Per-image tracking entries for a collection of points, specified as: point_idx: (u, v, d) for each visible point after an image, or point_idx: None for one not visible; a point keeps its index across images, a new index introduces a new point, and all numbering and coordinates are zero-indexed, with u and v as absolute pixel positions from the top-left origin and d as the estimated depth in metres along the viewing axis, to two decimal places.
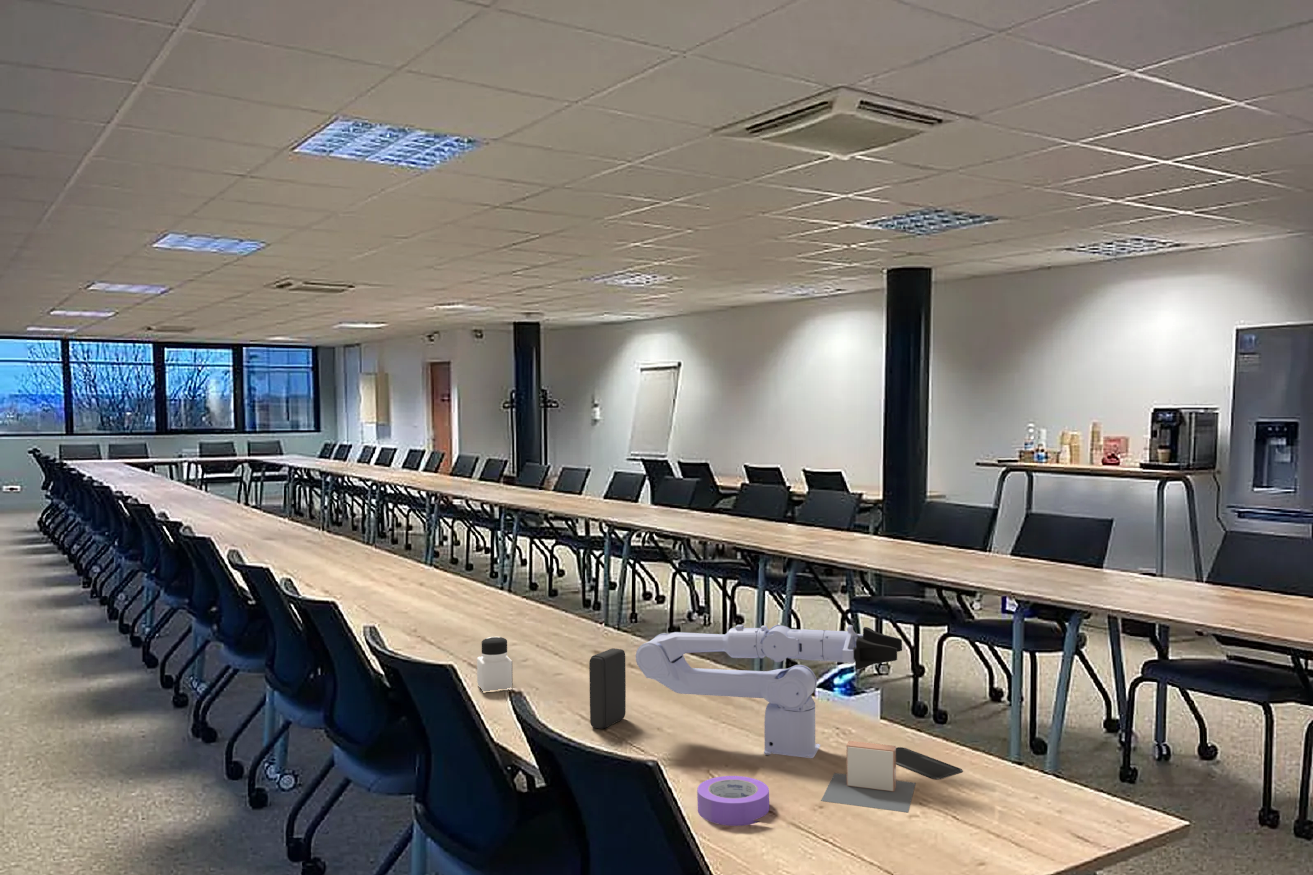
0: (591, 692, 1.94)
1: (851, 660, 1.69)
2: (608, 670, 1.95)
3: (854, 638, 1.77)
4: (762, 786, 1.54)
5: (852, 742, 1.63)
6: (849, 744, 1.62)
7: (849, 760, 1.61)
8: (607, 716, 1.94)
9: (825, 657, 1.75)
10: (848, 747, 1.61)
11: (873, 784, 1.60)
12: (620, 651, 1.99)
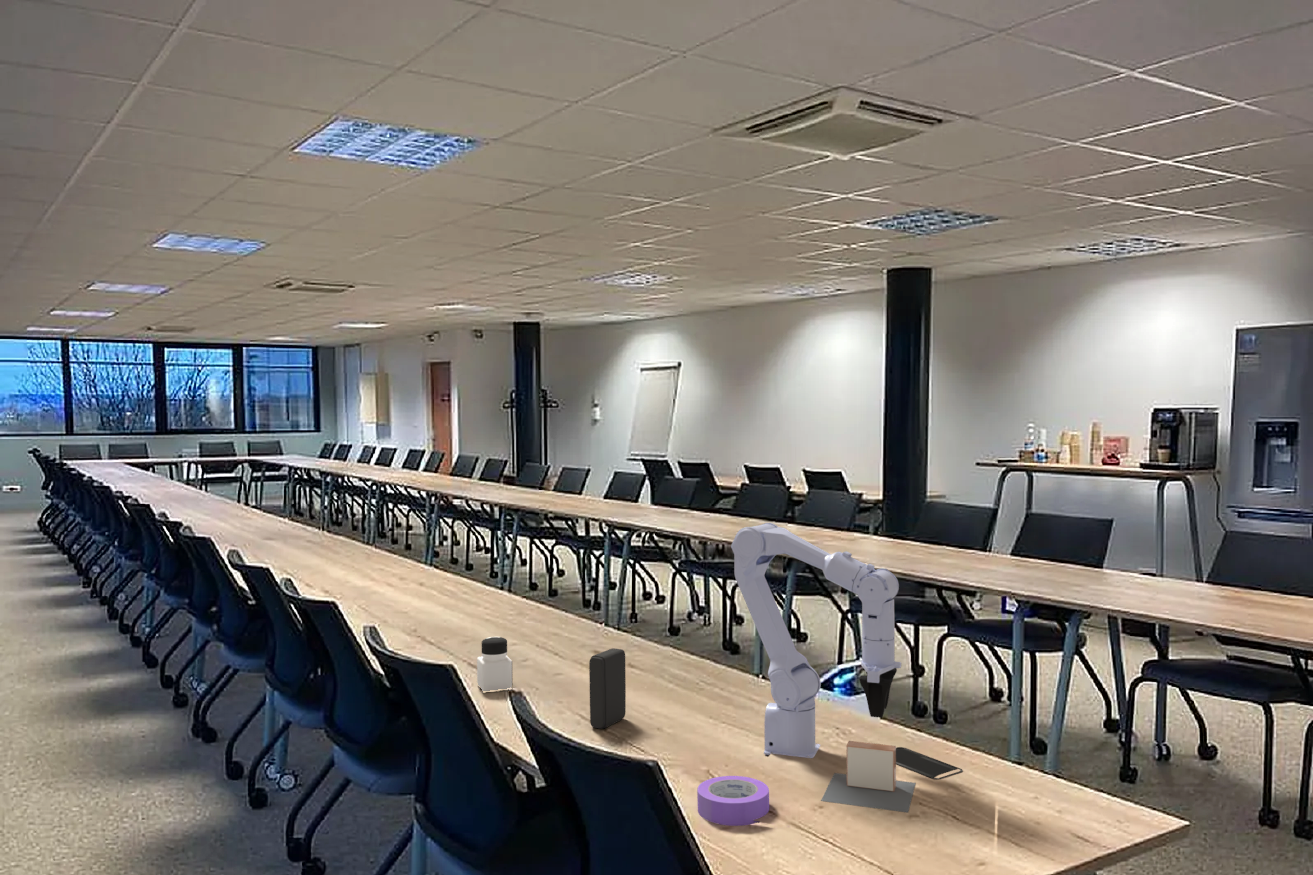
0: (591, 692, 1.94)
1: (868, 680, 1.64)
2: (608, 670, 1.95)
3: None
4: (762, 786, 1.54)
5: (852, 742, 1.63)
6: (849, 744, 1.62)
7: (849, 760, 1.61)
8: (607, 716, 1.94)
9: (867, 641, 1.69)
10: (848, 747, 1.61)
11: (873, 784, 1.60)
12: (620, 651, 1.99)
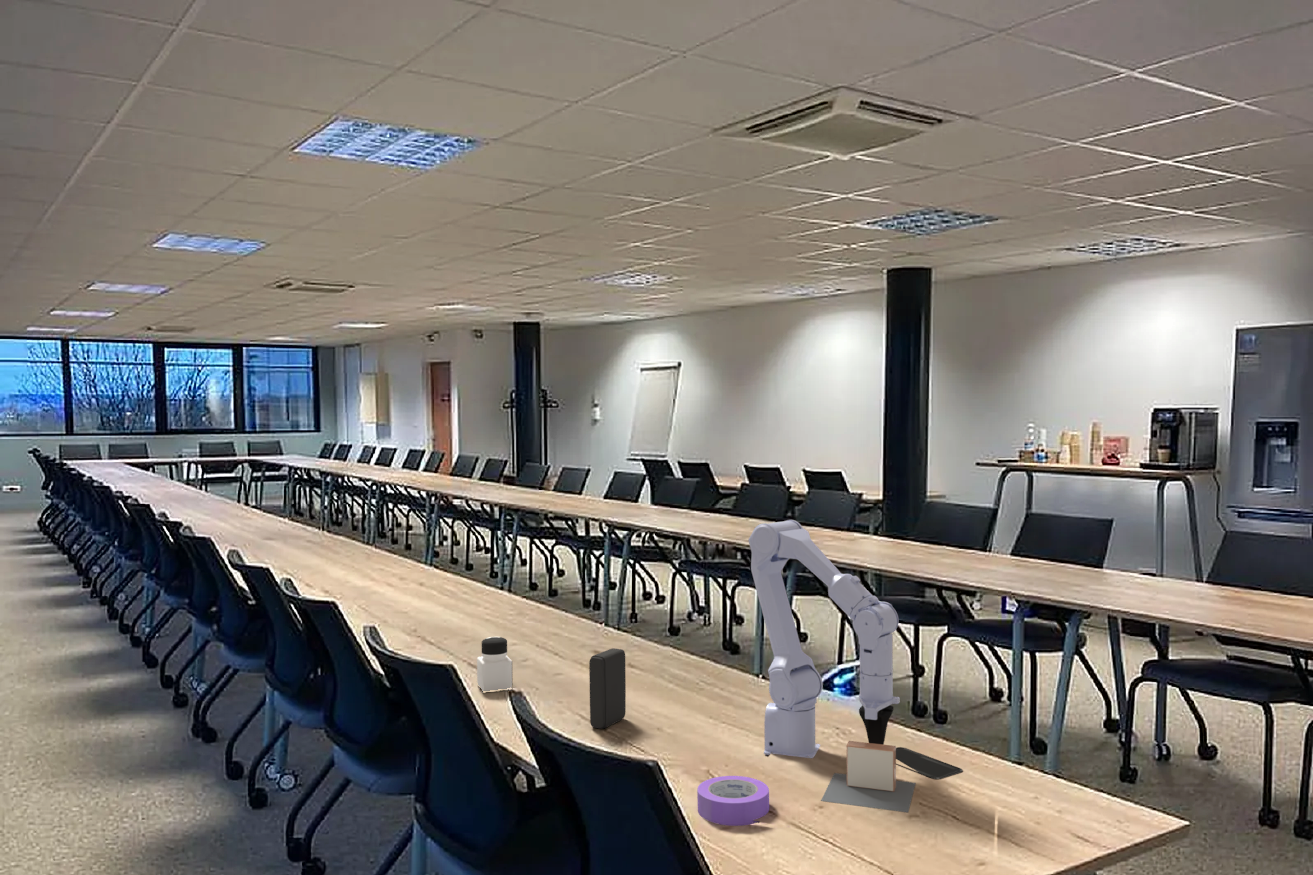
0: (591, 692, 1.94)
1: (866, 717, 1.61)
2: (608, 670, 1.95)
3: None
4: (762, 786, 1.54)
5: (852, 742, 1.63)
6: (849, 744, 1.62)
7: (849, 760, 1.61)
8: (607, 716, 1.94)
9: (864, 676, 1.66)
10: (848, 747, 1.61)
11: (873, 784, 1.60)
12: (620, 651, 1.99)
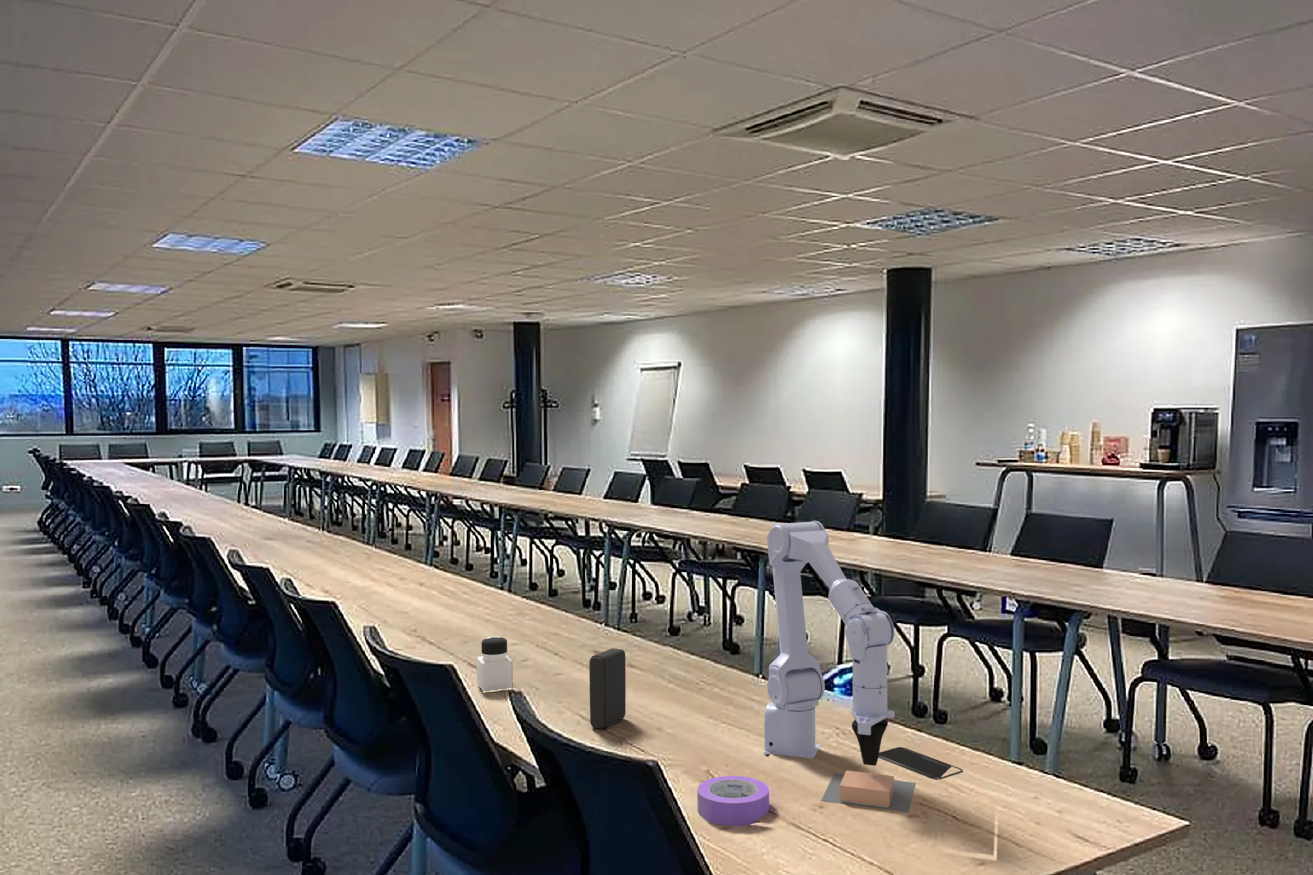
0: (591, 692, 1.94)
1: (859, 732, 1.53)
2: (608, 670, 1.95)
3: None
4: (762, 786, 1.54)
5: (843, 789, 1.54)
6: (842, 797, 1.54)
7: None
8: (607, 716, 1.94)
9: (857, 688, 1.58)
10: (842, 800, 1.55)
11: None
12: (620, 651, 1.99)
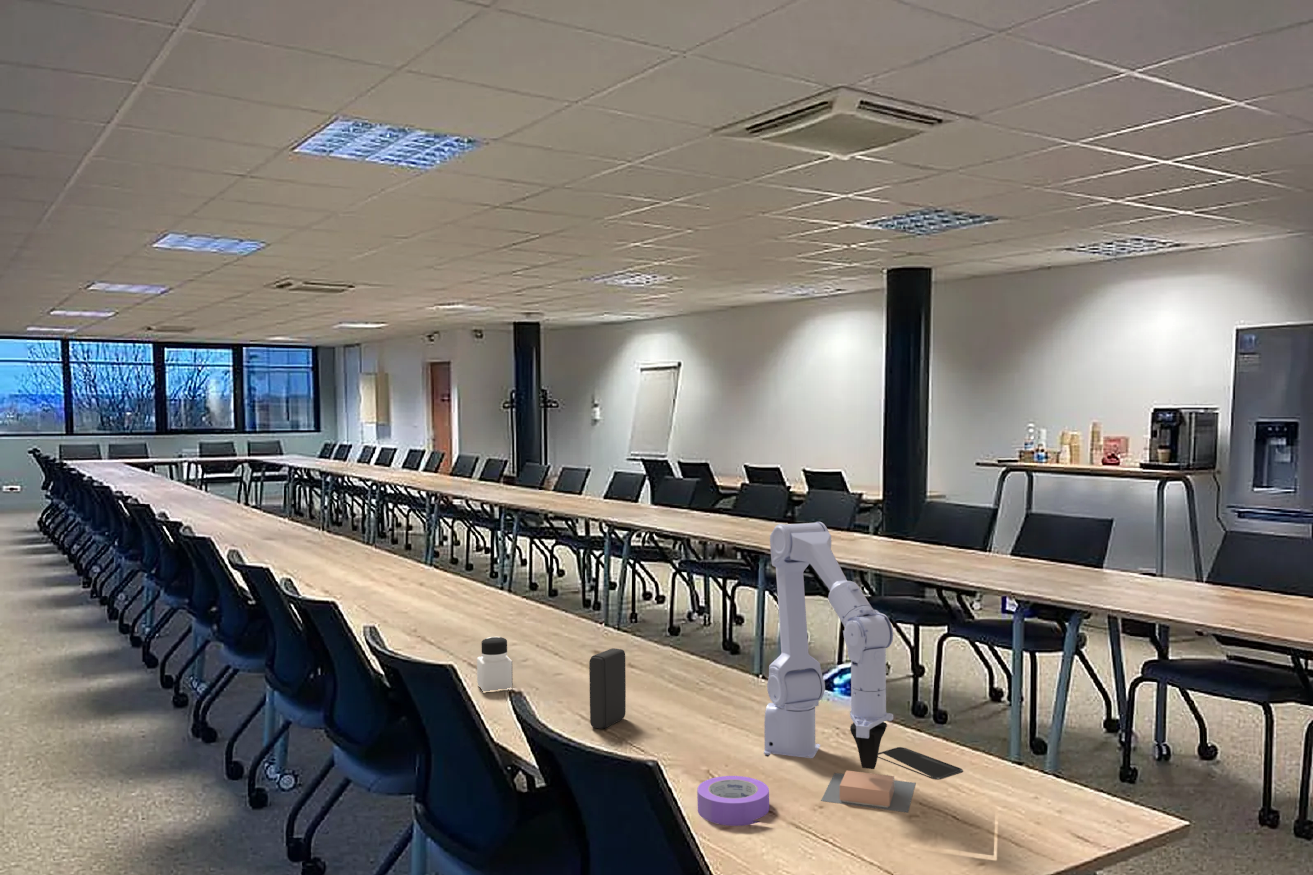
0: (591, 692, 1.94)
1: (857, 735, 1.52)
2: (608, 670, 1.95)
3: None
4: (762, 786, 1.54)
5: (843, 789, 1.54)
6: (842, 797, 1.54)
7: None
8: (607, 716, 1.94)
9: (856, 691, 1.57)
10: (842, 800, 1.55)
11: None
12: (620, 651, 1.99)
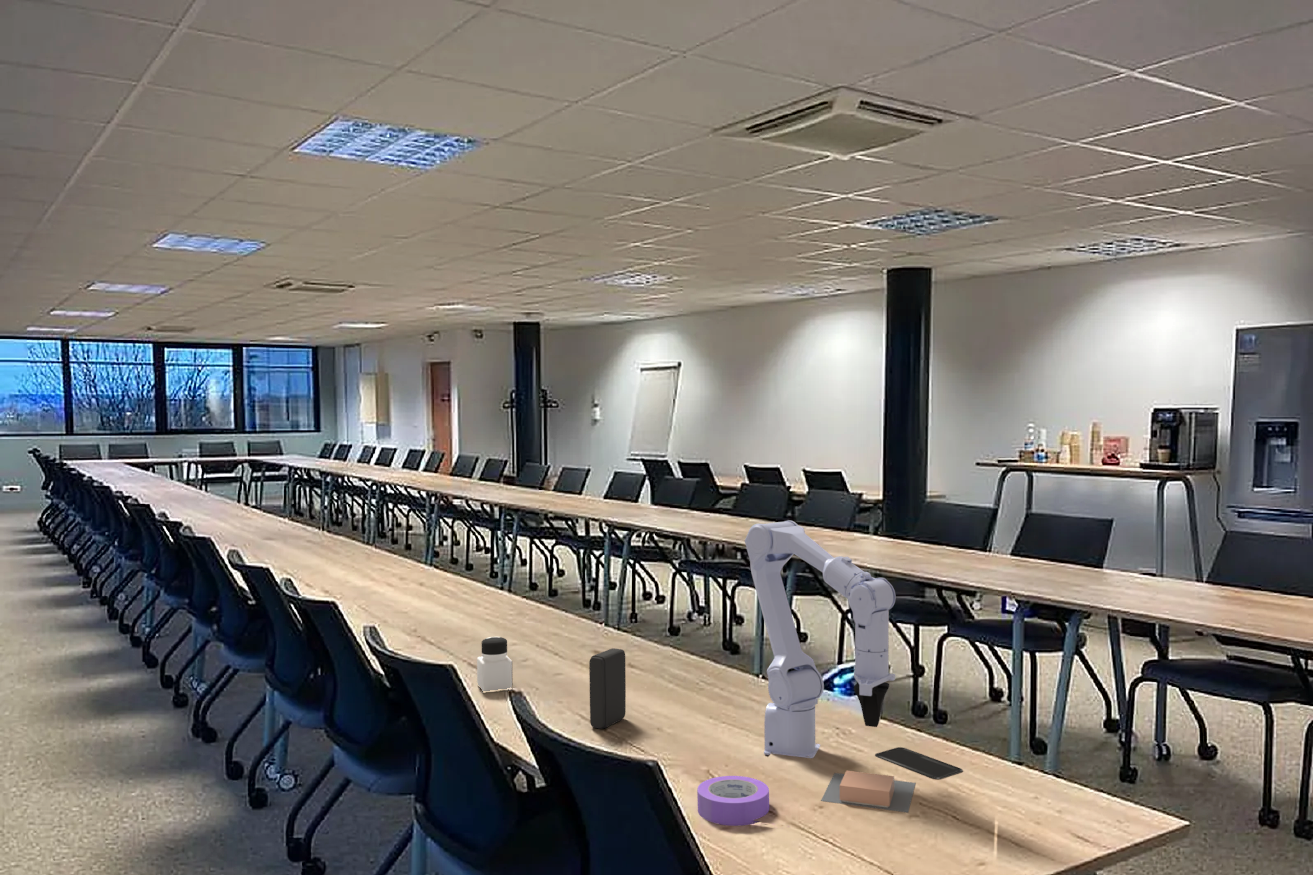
0: (591, 692, 1.94)
1: (860, 693, 1.59)
2: (608, 670, 1.95)
3: None
4: (762, 786, 1.54)
5: (843, 789, 1.54)
6: (842, 797, 1.54)
7: None
8: (607, 716, 1.94)
9: (859, 652, 1.64)
10: (842, 800, 1.55)
11: None
12: (620, 651, 1.99)
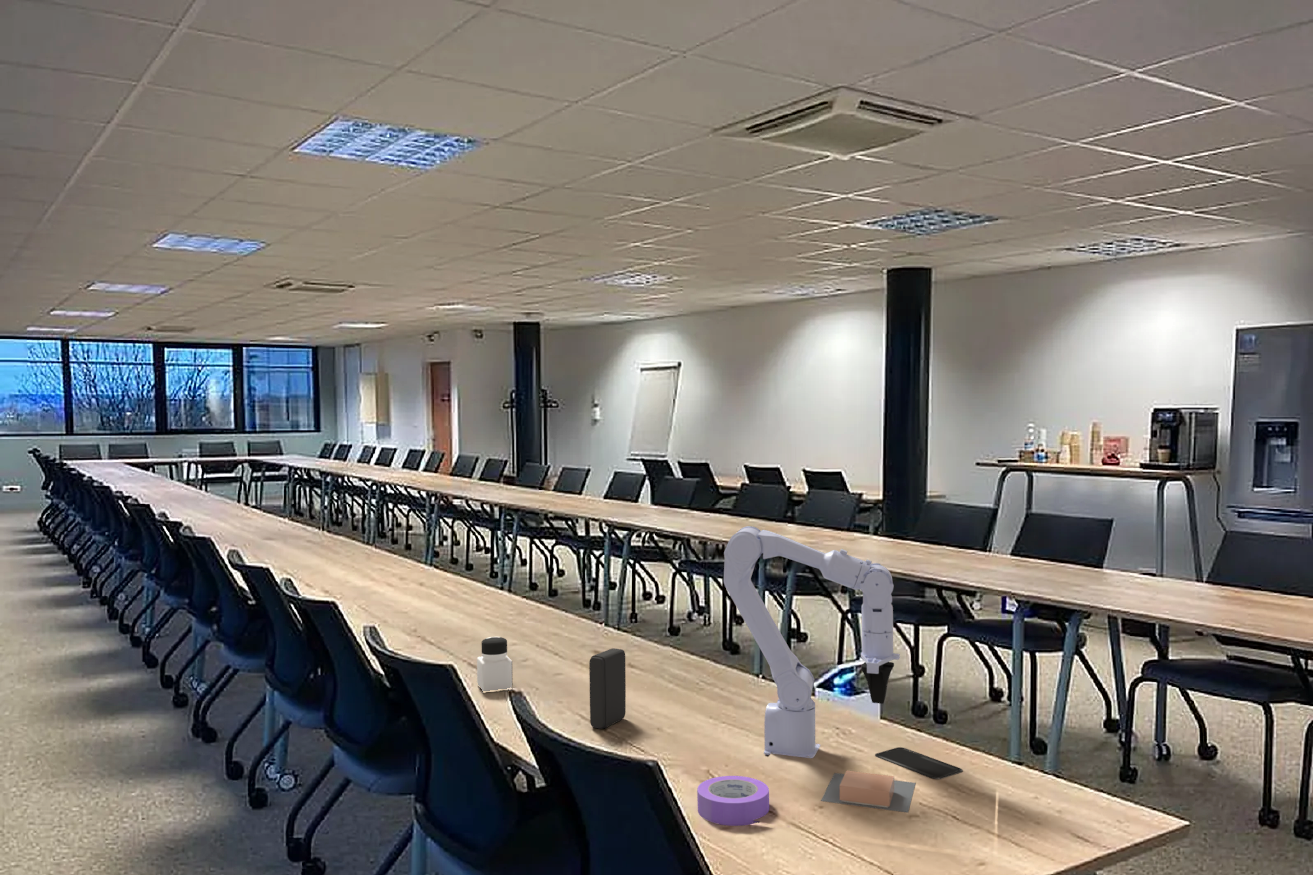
0: (591, 692, 1.94)
1: (868, 671, 1.70)
2: (608, 670, 1.95)
3: None
4: (762, 786, 1.54)
5: (843, 789, 1.54)
6: (842, 797, 1.54)
7: None
8: (607, 716, 1.94)
9: (866, 634, 1.75)
10: (842, 800, 1.55)
11: None
12: (620, 651, 1.99)
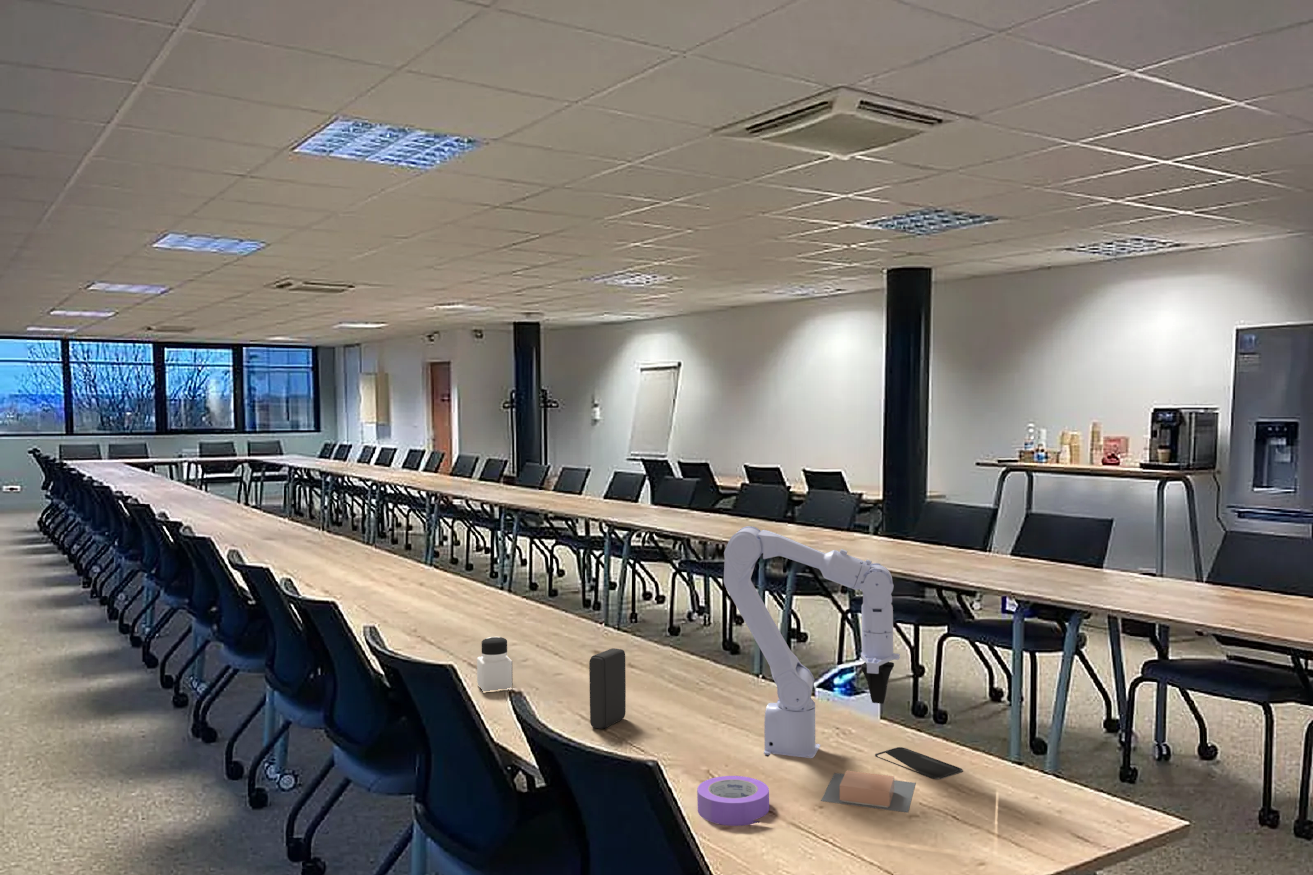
0: (591, 692, 1.94)
1: (868, 671, 1.70)
2: (608, 670, 1.95)
3: None
4: (762, 786, 1.54)
5: (843, 789, 1.54)
6: (842, 797, 1.54)
7: None
8: (607, 716, 1.94)
9: (866, 634, 1.75)
10: (842, 800, 1.55)
11: None
12: (620, 651, 1.99)
